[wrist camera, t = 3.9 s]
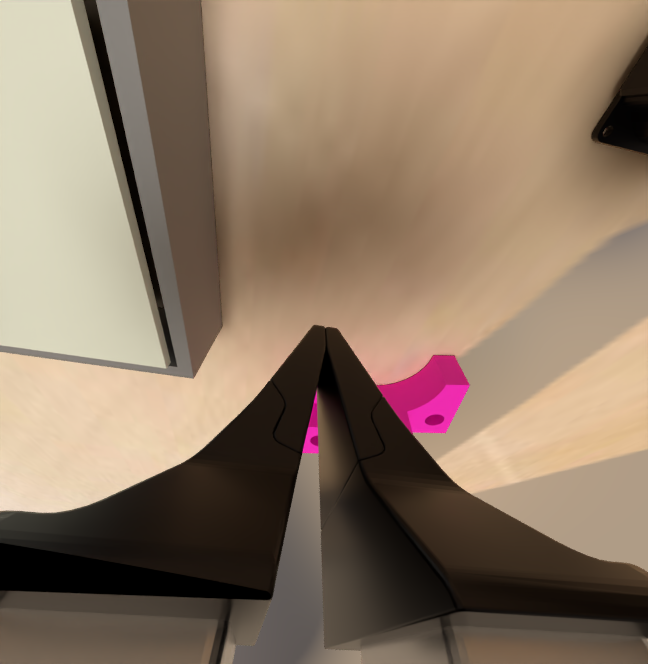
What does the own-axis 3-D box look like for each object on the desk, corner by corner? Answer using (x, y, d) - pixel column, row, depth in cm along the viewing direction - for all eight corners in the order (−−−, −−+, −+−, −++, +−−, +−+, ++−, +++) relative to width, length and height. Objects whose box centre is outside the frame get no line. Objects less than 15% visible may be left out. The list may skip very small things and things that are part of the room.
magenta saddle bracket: (299, 452, 26) (294, 405, 21) (304, 400, 31) (301, 352, 26) (454, 456, 26) (482, 409, 21) (434, 403, 31) (454, 355, 26)
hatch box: (197, -46, 12) (97, -172, 7) (222, 326, 25) (193, 378, 20) (-165, -147, 11) (-624, -397, 5) (59, 300, 23) (-16, 349, 18)
